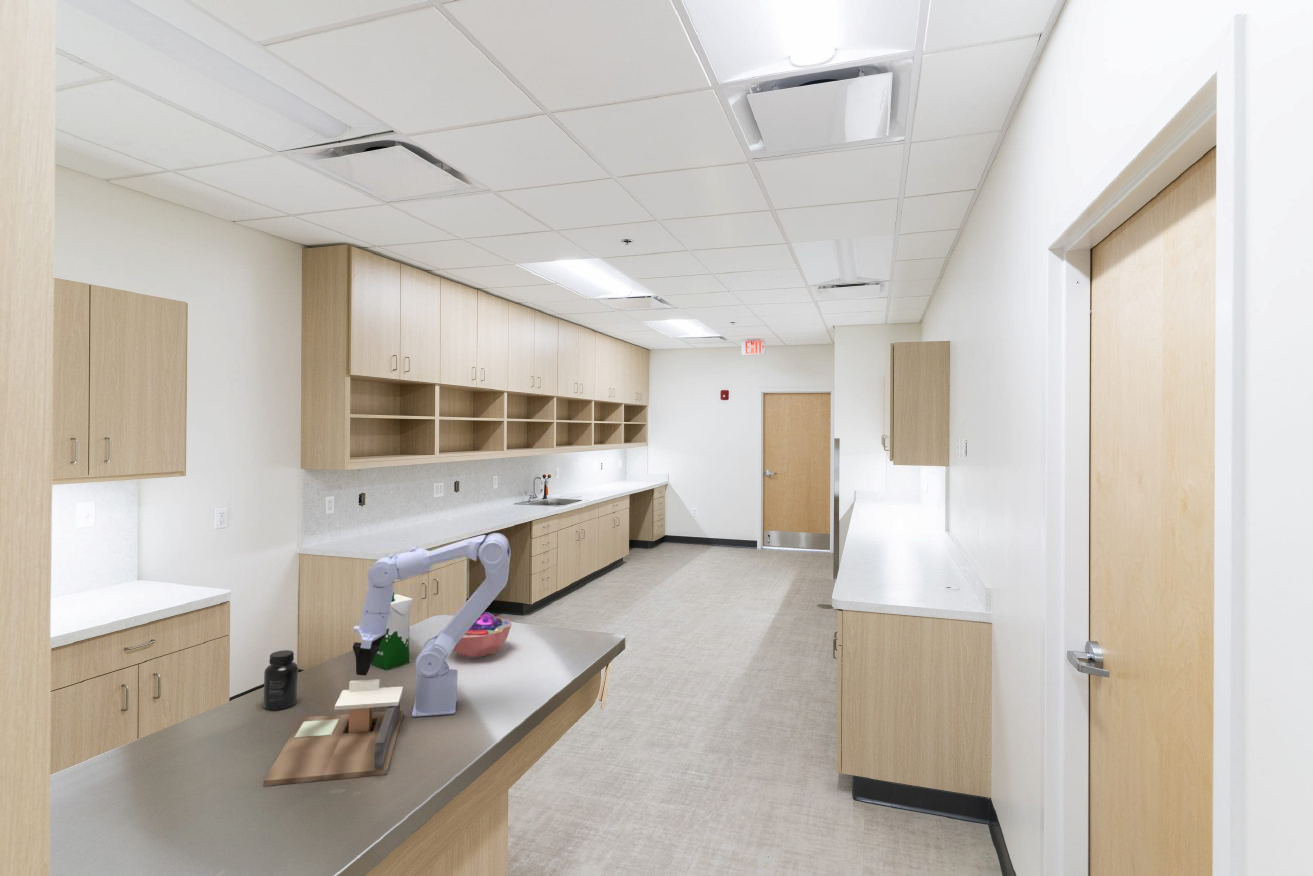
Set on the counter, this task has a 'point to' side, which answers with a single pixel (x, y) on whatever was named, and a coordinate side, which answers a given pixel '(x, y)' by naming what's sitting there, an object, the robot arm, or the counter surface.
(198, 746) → the counter surface
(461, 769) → the counter surface
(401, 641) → the milk carton
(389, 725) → the board
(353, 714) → the block
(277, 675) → the supplement bottle
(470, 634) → the cell model
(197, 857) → the counter surface
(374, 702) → the cover
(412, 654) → the counter surface
